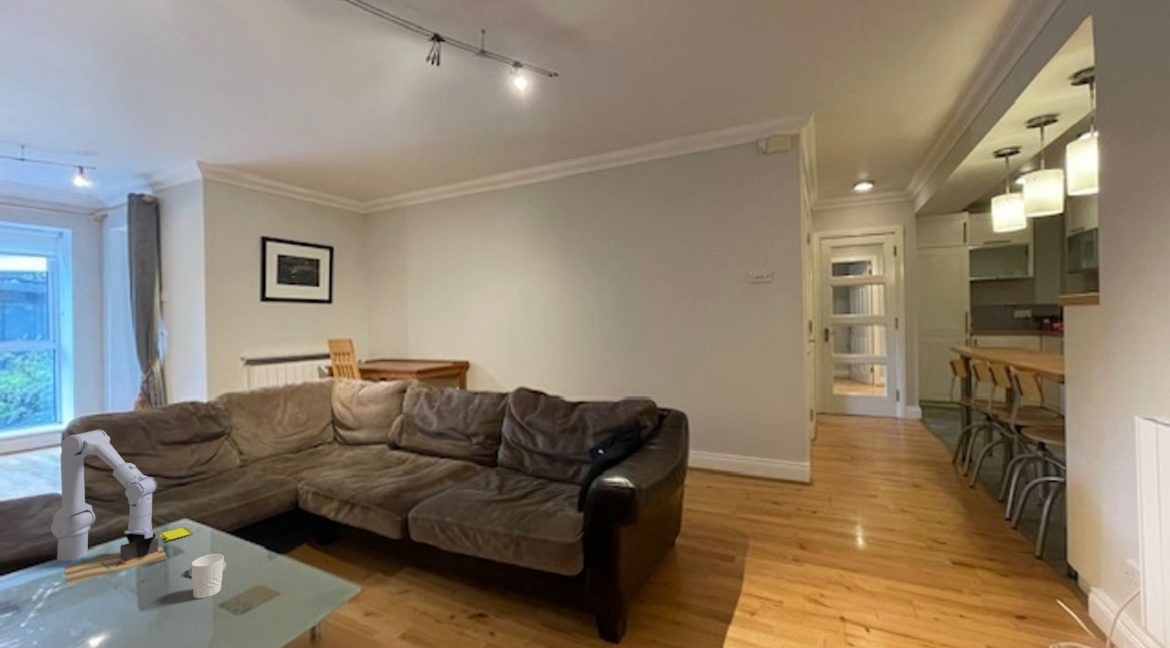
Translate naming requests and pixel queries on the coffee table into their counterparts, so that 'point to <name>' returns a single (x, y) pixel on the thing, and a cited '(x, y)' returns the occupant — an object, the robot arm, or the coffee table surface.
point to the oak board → (106, 566)
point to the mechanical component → (206, 555)
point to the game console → (174, 534)
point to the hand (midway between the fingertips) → (139, 554)
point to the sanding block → (130, 552)
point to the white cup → (207, 575)
